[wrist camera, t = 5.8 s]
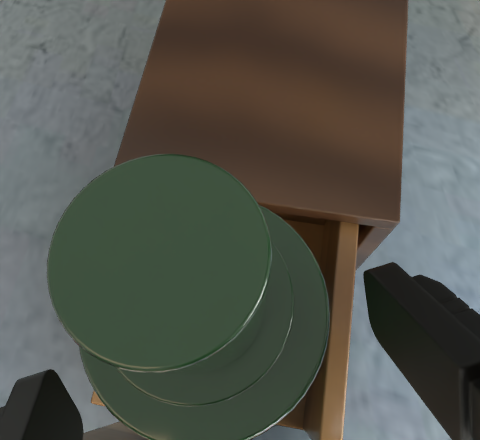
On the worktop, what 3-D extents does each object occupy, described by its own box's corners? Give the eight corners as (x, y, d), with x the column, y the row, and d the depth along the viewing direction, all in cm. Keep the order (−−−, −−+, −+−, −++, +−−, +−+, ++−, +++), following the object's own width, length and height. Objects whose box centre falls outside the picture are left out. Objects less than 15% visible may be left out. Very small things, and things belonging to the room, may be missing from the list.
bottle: (293, 305, 21) (399, 92, 5) (279, 416, 19) (377, 582, 4) (194, 289, 22) (24, 49, 6) (172, 395, 20) (-158, 461, 4)
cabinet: (352, 275, 24) (400, 223, 16) (156, 245, 25) (108, 181, 17) (367, 71, 29) (410, -47, 21) (204, 54, 30) (185, -65, 22)
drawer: (316, 602, 18) (349, 726, 11) (87, 548, 19) (-1, 635, 12) (348, 223, 24) (381, 167, 18) (173, 198, 25) (145, 136, 19)
